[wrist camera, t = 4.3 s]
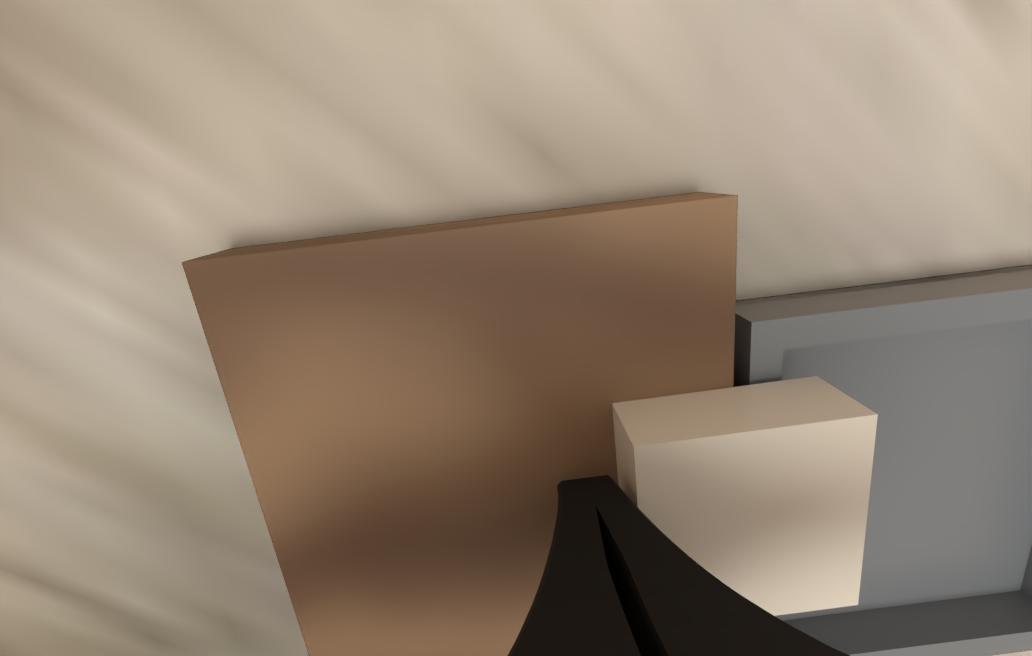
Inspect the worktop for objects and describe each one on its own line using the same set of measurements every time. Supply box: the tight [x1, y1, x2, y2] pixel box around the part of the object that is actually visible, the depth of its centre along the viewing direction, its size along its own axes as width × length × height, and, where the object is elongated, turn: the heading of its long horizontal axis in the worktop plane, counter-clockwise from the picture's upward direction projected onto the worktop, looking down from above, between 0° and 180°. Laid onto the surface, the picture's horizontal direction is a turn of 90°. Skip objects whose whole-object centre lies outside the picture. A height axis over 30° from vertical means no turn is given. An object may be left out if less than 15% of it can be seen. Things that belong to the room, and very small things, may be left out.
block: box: [612, 376, 878, 616], centre depth 12 cm, size 5×5×2 cm
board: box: [182, 192, 738, 656], centre depth 14 cm, size 18×12×2 cm, turn 7°
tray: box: [733, 265, 1032, 656], centre depth 14 cm, size 12×11×2 cm
